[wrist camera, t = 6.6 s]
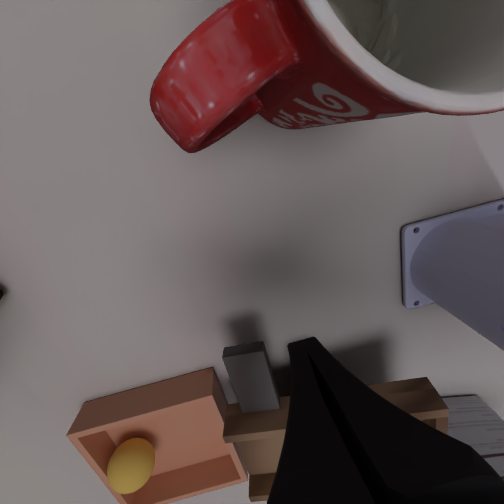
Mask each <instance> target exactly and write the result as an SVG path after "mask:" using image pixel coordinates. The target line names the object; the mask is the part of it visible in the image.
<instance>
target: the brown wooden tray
mask: <svg viewBox="0 0 504 504" xmlns="http://www.w3.org/2000/svg"><path fill="white" fill-rule="evenodd" d="M222 358H223V361H224V364H225V367H226V369H227V372H228V375H229V377H230V380H231V383H232V385H233V388H234V391H235V393H236V396H237V399H238V401H239V403H235V404H228V405H227V406H226V414H225V421H224V429H223V439H224V442H225V444H226V443H234V442H236V444H237V446H238V448H239V451H240V453H241V456H242V458H243V460H244V463H245V465H246V468H247V470H248V473H249V475H250V477H249V498H250V501H251V502H255V501H266V500H268V497H269V494H270V491H271V487H272V484H273V481H274V478H275V474H276V471H277V467H278V463H279V459H280V455H281V451H282V447H283V442H284V437H285V431H286V426H287V419H288V412H289V403H290V396H286V397H279V395H278V391H277V388H276V384H275V381H274V377H273V374H272V370H271V367H270V363H269V360H268V356H267V353H266V349H265V346H264V342H263V341H261V342H255V343H249V344H243V345H237V346H231V347H225V348H224V351H223V356H222ZM367 386H368V387H369V388H371V389H372V390H373V391H375V392H376V393H378V394H379V395H380V396H382V397H383V398H385V399H386V400H388V401H389V402H391V403H392V404H394V405H395V406H397V407H399V408H400V409H402V410H404V411H405V412H407V413H409V414H410V415H412V416H414V417H415V418H417V419H419V420H420V421H422V422H424V423H426V424H428V425H429V426H431V427H433V428H435V429H437V430H439V431H441V432H443V433H445V434H447V433H448V418H449V408H448V407H447V405H446V404H445V402H444V401H443V399H442V398H441V397H440V395H439V394H438V392H437V391H436V390H435V388H434V387H433V385H432V384H431V382H430V381H429V380H428V378H427V377H422V378H415V379H408V380H401V381H394V382H386V383H379V384H372V385H367Z"/></svg>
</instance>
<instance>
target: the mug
mask: <svg viewBox="0 0 504 504" xmlns="http://www.w3.org/2000/svg"><path fill="white" fill-rule="evenodd" d="M150 106H151V110H152V112H153V114H154V116H155V118H156V119H157V121H158V122H159V124H160V125H161V126H162V128H163V129H164V130H165V131H166V132H167V134H168V135H169V136H170V137H171V138H172V139H173V140H174V141H175V142H176V143H177V144H178V145H179V146H180V147H181V148H182V149H183V150H184V151H186V152H188V153H195V152H198V151H201V150H202V149H205V148H206V147H208V146H210V145H212V144H213V143H215V142H217V141H219V140H220V139H221V138H223V137H225V136H226V135H227V134H229V133H230V132H231V131H233V130H234V129H236V128H237V127H239V126H240V125H241V124H243V123H244V122H246V121H247V120H248V119H250V118H251V117H253V116H254V115H255V114H257V113H259V114H260V115H261V116H262V117H263V118H264V119H266V120H267V121H269V122H270V123H272V124H274V125H276V126H279V127H282V128H286V129H303V128H310V127H318V126H325V125H332V124H339V123H347V122H354V121H362V120H372V119H379V118H387V117H394V116H402V115H408V114H414V113H421V112H429V113H435V114H441V115H458V116H459V115H478V114H488V113H494V112H498V111H502V110H504V0H232V1H231V2H229V3H228V4H226V5H224V6H223V7H221V8H218V10H217V11H216V12H214V13H213V14H212V15H211V16H210V17H209V18H207V19H206V20H205V21H204V22H202V23H201V24H200V25H199V26H198V27H197V28H196V29H195V30H194V31H193V32H192V33H191V34H190V35H188V36H187V37H186V38H185V39H184V40H183V41H182V43H181V44H180V45H179V46H178V47H177V48H176V49H175V50H174V51H173V53H172V54H171V55H170V57H169V58H168V60H167V61H166V62H165V64H164V65H163V67H162V69H161V71H160V72H159V73H158V75H157V77H156V79H155V80H154V82H153V85H152V88H151V93H150Z"/></svg>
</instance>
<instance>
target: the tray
mask: <svg viewBox="0 0 504 504" xmlns="http://www.w3.org/2000/svg"><path fill="white" fill-rule="evenodd" d="M227 405H228V403H227V400H226V398H225V395H224V393H223V390H222V388H221V385H220V383H219V380H218V378H217V375H216V373H215V370H214V368H213V367H211V368H208V369H204V370H200V371H197V372H193V373H189V374H186V375H182V376H179V377H175V378H171V379H168V380H164V381H160V382H157V383H153V384H150V385H146V386H142V387H139V388H135V389H131V390H128V391H124V392H120V393H117V394H113V395H110V396H106V397H102V398H99V399H95V400H91V401H88V402H84V404H83V406H82V408H81V410H80V411H79V413H78V415H77V417H76V419H75V420H74V422H73V424H72V426H71V428H70V430H69V431H68V433H67V435H66V436H67V437H68V438H69V440H70V441H71V442H72V443H73V445H74V446H75V447H76V448H77V450H78V451H79V452H80V454H81V455H82V456H83V457H84V459H85V460H86V461H87V462H88V464H89V465H90V466H91V468H92V469H93V470H94V471H95V473H96V474H97V475H98V476H99V478H100V479H101V480H102V482H103V483H104V484H105V485H106V487H107V488H108V489H109V490H110V492H111V493H112V494H113V495H114V497H115V498H116V499H117V501H118V502H119V503H120V504H167V503H171V502H175V501H178V500H182V499H185V498H189V497H192V496H196V495H199V494H203V493H206V492H210V491H214V490H217V489H221V488H224V487H228V486H231V485H235V484H238V483H242V482H245V481H248V471H247V468H246V465H245V463H244V460H243V458H242V456H241V453H240V451H239V448H238V446H237V444H236V442H234V443H226V444H225V442H224V439H223V429H224V421H225V414H226V406H227ZM131 438H143V439H146V440H147V441H149V442H150V444H151V445H152V447H153V449H154V452H155V465H154V469H153V472H152V474H151V476H150V478H149V479H148V481H147V482H146V483H145V484H144V485H143V486H142V487H141V488H140V489H138V490H137V491H135V492H133V493H129V494H120V493H117V492H116V491H114V490H113V489H112V488H111V486H110V485H109V482H108V479H107V468H108V463H109V460H110V458H111V456H112V454H113V453H114V451H115V450H116V449H117V448H118V446H120V445H121V444H122V443H123V442H125V441H126V440H129V439H131Z"/></svg>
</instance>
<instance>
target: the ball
mask: <svg viewBox="0 0 504 504" xmlns="http://www.w3.org/2000/svg"><path fill="white" fill-rule="evenodd" d="M154 465H155V452H154V449H153V447H152V445H151V444H150V442H149V441H147V440H146V439H143V438H131V439H129V440H126V441H125V442H123V443H122V444H121V445H120V446H118V448H117V449H116V450H115V451H114V453H113V454H112V456H111V458H110V460H109V463H108V468H107V479H108V482H109V485H110V486H111V488H112V489H113V490H114V491H116V492H117V493H120V494H129V493H133V492H135V491H137V490H138V489H140V488H141V487H142V486H143V485H144V484H145V483H146V482H147V481H148V479H149V478H150V476H151V474H152V472H153V469H154Z"/></svg>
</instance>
